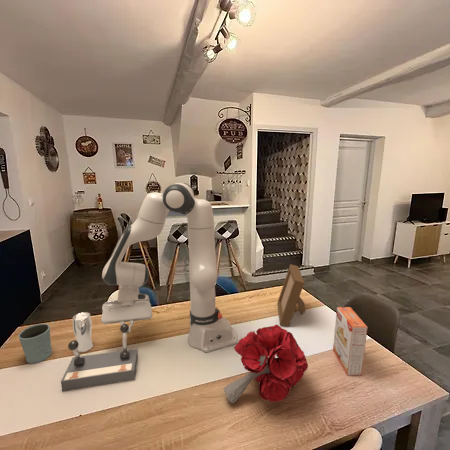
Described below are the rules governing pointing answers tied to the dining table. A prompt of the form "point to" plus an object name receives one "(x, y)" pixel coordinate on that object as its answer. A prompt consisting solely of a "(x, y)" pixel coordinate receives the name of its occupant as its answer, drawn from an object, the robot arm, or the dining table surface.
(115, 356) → the switch unit
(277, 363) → the bouquet
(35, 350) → the green plant pot
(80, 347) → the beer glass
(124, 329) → the lever
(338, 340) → the cracker box
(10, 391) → the dining table surface
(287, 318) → the photo frame
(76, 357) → the lever
